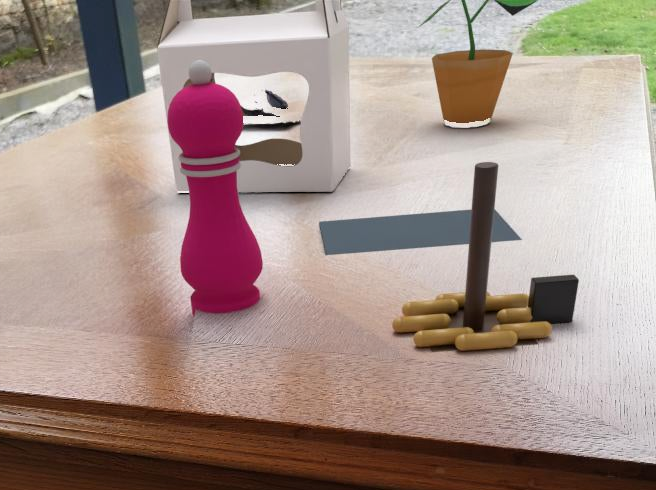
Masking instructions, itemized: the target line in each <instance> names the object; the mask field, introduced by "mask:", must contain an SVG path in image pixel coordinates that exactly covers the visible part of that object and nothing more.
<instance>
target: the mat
mask: <svg viewBox="0 0 656 490" xmlns="http://www.w3.org/2000/svg"><path fill="white" fill-rule="evenodd" d="M471 211H472V208H471V209H460V210H447V211H446V210H445V211H435V212H421V213H411V214H410V213H409V214H398V215H386V216H385V215H384V216H374V217H373V216H372V217H361V218H360V217H359V218H346V219H337V220H335V219H334V220H323V221H319V222H318V225H319V226H318V227H319V231H320V236H321V239H322V245H323V249H324V253H325V256H333V255H334V256H336V255H349V254H360V253H361V254H362V253H372V252H384V251H386V252H387V251H398V250H399V251H400V250H411V249H424V248H437V247H449V246H461V245H469V237H470V224H471ZM522 240H523V239H522V238H521V237H520V235H519V234H518V233H517V232H516V231H515V230H514V229H513V227H511V226H510V224H509V223H508V222H507V221H506V220H505V219H504V218H503V216H502V215H501V214H500V213H499V212H498V211H497V210H496V209H495V208H494V219H493V230H492V241H491V243H501V242H513V241H522Z"/></svg>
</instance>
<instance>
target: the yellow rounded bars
mask: <svg viewBox="0 0 656 490" xmlns="http://www.w3.org/2000/svg"><path fill="white" fill-rule="evenodd" d="M579 283H580V280H579V277H577V276H576V275H575V274H563V275H550V276H536V277H531V278H530V285H529V292H528V293H529V294H527V293H510V294H496V295H491V294H490V292H488V291H487V295H486V306H485V311H498V310H500V311H499V312H498V314H497V321H498V322H499V323H500V324H502V325H496V326H494V327H493V328H492V329H491V331H490V332H486V333H474V331H473V330H472V329H471V328H469V327H463V328H450V329H446V328H448V327H449V326H450V324H451V319H450V317H449V316H448V315H447V314H453V313H455V312H456V311H457V310H458V308H464V303H465V291H463V292H451V293H450V292H449V293H440V294H438V295H437V296H435V299H432V300H431V299H430V300H418V301H408V302H405V303H404V304H402V307H401V313H402V314H403V316H397V317H396V318H394V319H393V321H392V323H391V327H392V329H393V331H394V332H396V333H398V334H399V333H401V334H402V333H413V332H414V335H413V339H412V340H413V343H414V345H415V346H417V347H418V348H423V347H424V348H425V347H429V346H439V345H453V344H455V346H456V348H457V349H459V350H458V351H463V352H465V351H475V350H477V351H478V350H491V349H492V350H493V349H502V348H503V349H504V348H512V347H515V346H514V345H515V344H516V343H517V340H519V339H533V338H535V339H543V338H545V339H546V338H547V337H549V336H550V335H551V334H552V331H553V326H552V324H559V323H572V322H573V320H574V318H573V317H574V313H575V306H576V300H577V299H576V298H577V294H578V288H579ZM415 332H416V333H415Z"/></svg>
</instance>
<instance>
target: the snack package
mask: <svg viewBox="0 0 656 490" xmlns="http://www.w3.org/2000/svg"><path fill="white" fill-rule="evenodd" d="M263 91H264V92H265V95H266V100H267V103H268V105H270V107H271V108H272V107H276V108H281V109H286V108H287V107H289V104H288V103H287V101H286V100H284V99H283V98H282V97H281V96H279V95H277V93H273V91H271V90H268V89H265V90H262V89H261V92H263ZM255 95H256V94H254V95H253V96H255ZM254 103H255V104H258V101H254ZM241 109H242V113H243V116H258V115H263V116H276V115H274V114H272V112H265V111H264V108H261V109H260V108H259V109H258V108H255V109H248V108H245V107H243V106H242V105H241ZM287 109H288V108H287ZM276 117H280V116H276Z"/></svg>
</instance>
